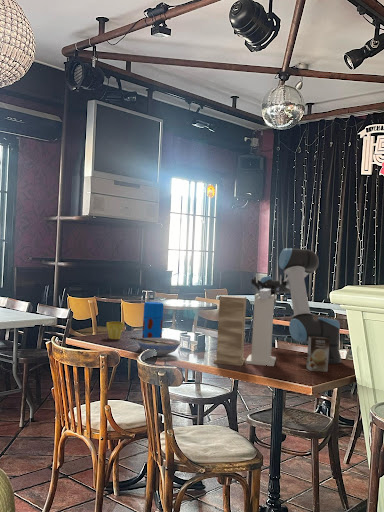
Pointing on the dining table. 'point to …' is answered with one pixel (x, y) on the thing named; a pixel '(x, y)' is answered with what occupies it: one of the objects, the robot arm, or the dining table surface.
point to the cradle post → (262, 332)
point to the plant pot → (115, 329)
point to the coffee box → (318, 353)
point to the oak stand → (231, 330)
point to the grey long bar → (265, 293)
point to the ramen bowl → (158, 345)
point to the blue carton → (152, 320)
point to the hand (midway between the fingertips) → (268, 275)
